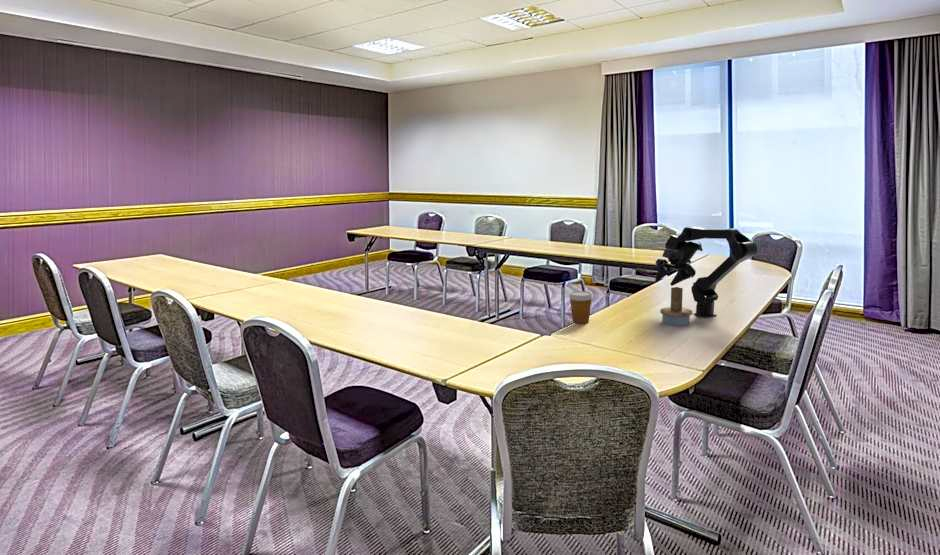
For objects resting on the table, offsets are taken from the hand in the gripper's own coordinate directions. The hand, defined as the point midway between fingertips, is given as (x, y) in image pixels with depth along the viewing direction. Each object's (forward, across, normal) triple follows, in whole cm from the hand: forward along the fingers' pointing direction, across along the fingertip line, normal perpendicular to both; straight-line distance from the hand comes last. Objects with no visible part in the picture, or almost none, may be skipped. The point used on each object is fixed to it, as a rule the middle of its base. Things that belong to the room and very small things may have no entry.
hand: (663, 283), depth 248 cm
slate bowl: (+12, +12, +7) cm, 18 cm away
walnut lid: (+9, +12, +4) cm, 16 cm away
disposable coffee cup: (+35, -7, -16) cm, 39 cm away
